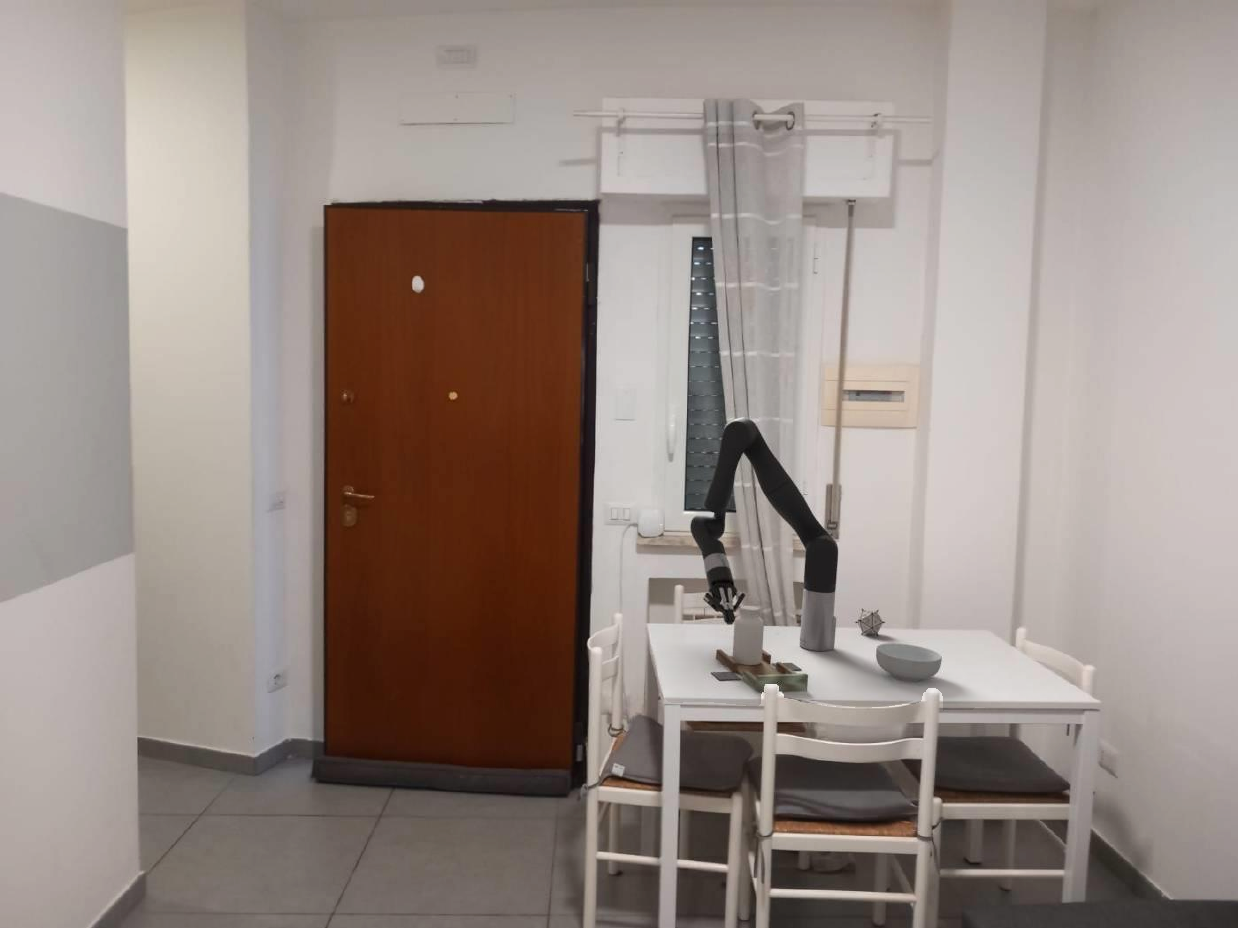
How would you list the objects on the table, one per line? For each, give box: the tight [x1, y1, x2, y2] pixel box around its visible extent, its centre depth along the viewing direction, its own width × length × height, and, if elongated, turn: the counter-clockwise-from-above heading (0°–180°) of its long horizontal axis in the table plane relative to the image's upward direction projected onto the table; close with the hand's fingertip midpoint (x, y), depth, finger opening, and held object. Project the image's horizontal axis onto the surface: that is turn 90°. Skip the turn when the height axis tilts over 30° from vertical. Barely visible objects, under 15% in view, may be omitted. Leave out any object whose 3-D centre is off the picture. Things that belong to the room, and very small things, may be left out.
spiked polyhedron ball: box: [854, 608, 886, 637], centre depth 278 cm, size 9×8×10 cm
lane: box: [710, 649, 809, 694], centre depth 231 cm, size 26×28×4 cm
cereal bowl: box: [875, 642, 943, 683], centre depth 235 cm, size 17×17×7 cm
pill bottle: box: [732, 605, 765, 665], centre depth 239 cm, size 8×8×15 cm
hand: (730, 623), depth 251 cm, fingers closed
